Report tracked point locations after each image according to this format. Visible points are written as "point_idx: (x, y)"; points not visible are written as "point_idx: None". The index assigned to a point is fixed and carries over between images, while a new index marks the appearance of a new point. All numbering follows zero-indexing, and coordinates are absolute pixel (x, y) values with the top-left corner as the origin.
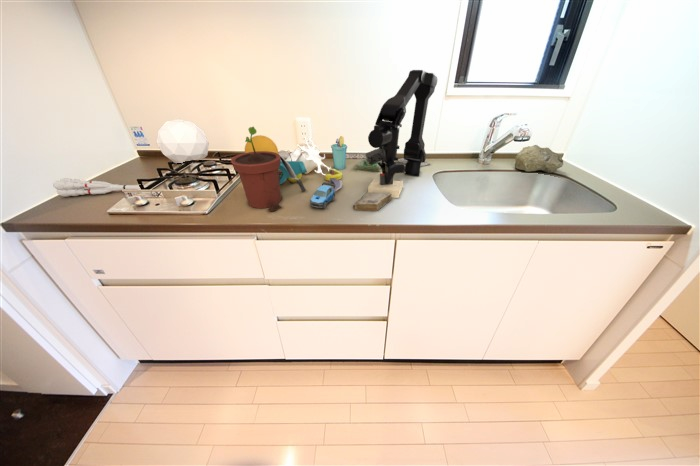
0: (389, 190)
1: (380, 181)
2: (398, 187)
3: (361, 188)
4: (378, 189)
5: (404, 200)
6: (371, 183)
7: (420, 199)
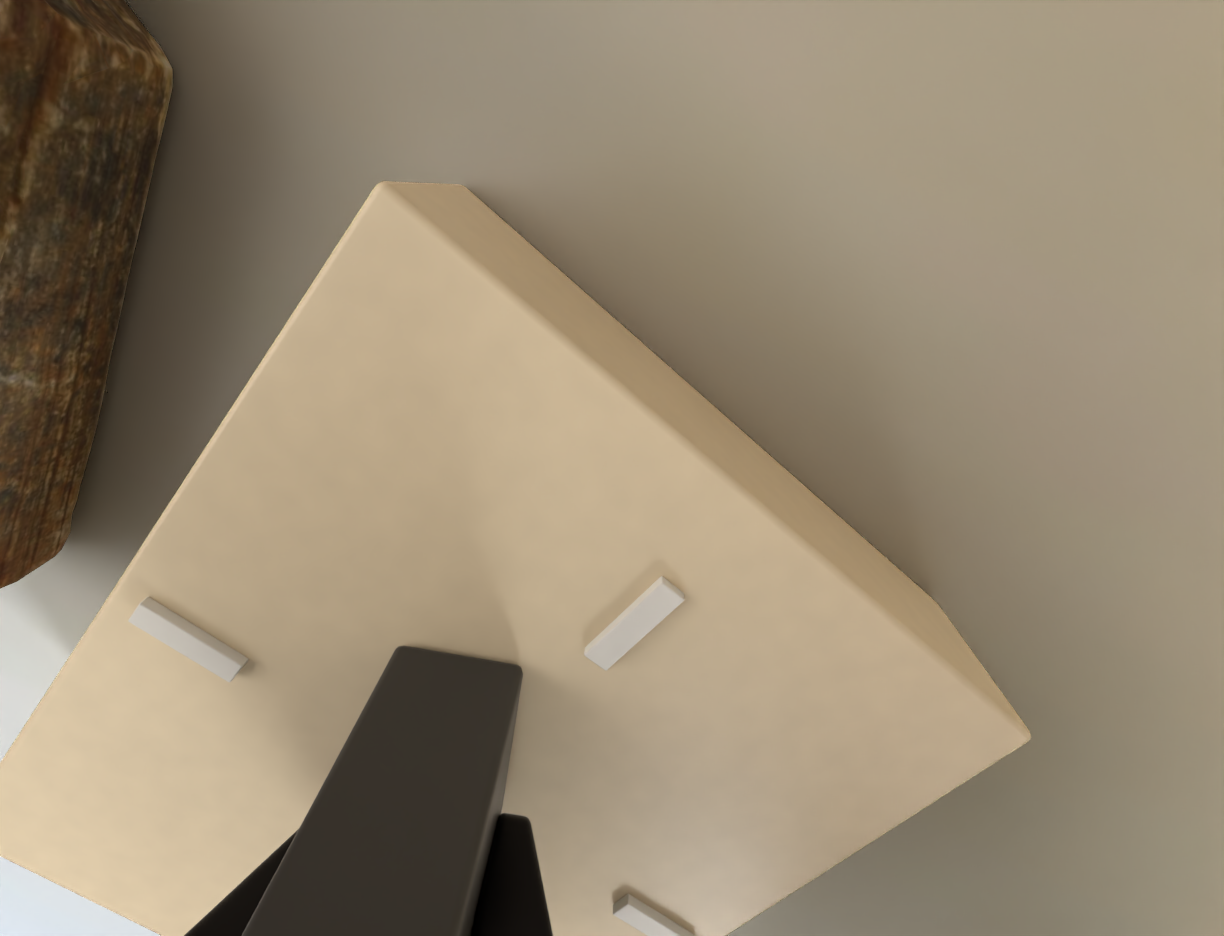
0: (52, 683)
1: (403, 731)
2: (175, 911)
3: (902, 175)
4: (209, 465)
5: (14, 740)
6: (650, 453)
7: (44, 930)
